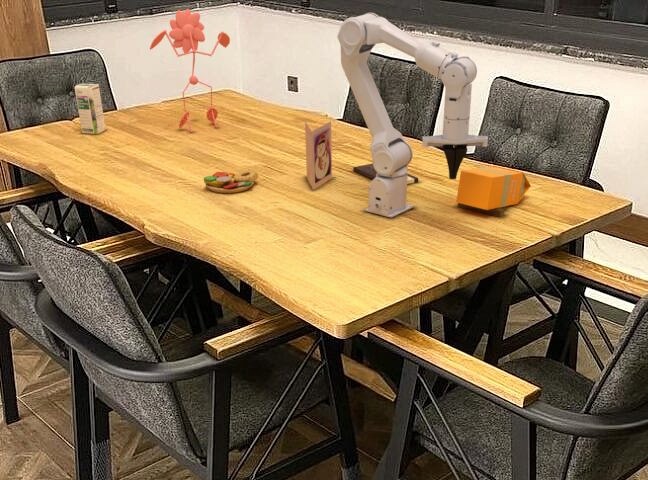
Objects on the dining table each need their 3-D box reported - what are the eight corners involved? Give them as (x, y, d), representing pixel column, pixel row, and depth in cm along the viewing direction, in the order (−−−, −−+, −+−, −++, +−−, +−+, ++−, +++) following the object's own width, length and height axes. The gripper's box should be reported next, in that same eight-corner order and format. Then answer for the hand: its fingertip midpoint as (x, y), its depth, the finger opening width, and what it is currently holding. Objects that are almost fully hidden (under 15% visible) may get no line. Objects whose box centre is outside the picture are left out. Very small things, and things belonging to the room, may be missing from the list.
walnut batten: (500, 217, 198) (500, 211, 197) (457, 207, 205) (457, 201, 204) (504, 215, 199) (505, 209, 199) (461, 204, 206) (462, 199, 205)
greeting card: (316, 190, 217) (314, 131, 209) (291, 187, 219) (288, 128, 211) (334, 178, 225) (334, 121, 217) (310, 175, 228) (308, 118, 220)
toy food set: (263, 181, 224) (262, 169, 222) (245, 196, 213) (244, 184, 212) (217, 177, 227) (215, 165, 226) (197, 192, 217) (196, 180, 215)
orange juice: (455, 202, 201) (498, 194, 215) (487, 210, 196) (528, 201, 210) (460, 169, 197) (503, 163, 211) (492, 176, 192) (534, 170, 206)
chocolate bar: (380, 161, 234) (418, 178, 221) (380, 165, 235) (418, 181, 222) (353, 167, 230) (390, 183, 217) (353, 170, 231) (390, 187, 218)
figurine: (240, 124, 276) (232, 8, 257) (169, 137, 264) (155, 15, 245) (219, 115, 287) (209, 3, 268) (149, 127, 274) (134, 10, 256)
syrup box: (81, 133, 269) (73, 86, 261) (91, 129, 274) (83, 82, 266) (97, 134, 268) (89, 87, 260) (106, 130, 272) (99, 83, 264)
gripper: (486, 112, 188) (481, 172, 195) (422, 112, 188) (419, 172, 195) (491, 120, 182) (485, 181, 189) (424, 120, 182) (422, 182, 190)
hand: (452, 177), depth 192 cm, fingers closed
